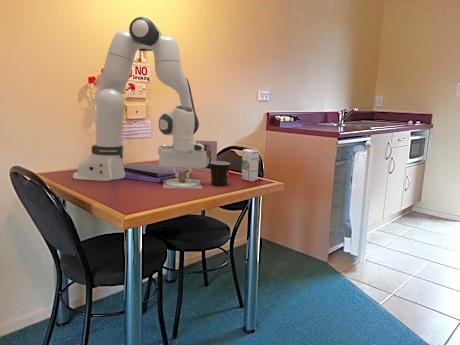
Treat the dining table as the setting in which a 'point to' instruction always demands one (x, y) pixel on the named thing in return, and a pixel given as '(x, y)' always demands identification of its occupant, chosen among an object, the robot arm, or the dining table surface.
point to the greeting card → (209, 153)
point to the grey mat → (182, 187)
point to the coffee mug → (219, 172)
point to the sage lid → (182, 181)
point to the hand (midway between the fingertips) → (182, 177)
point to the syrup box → (250, 165)
